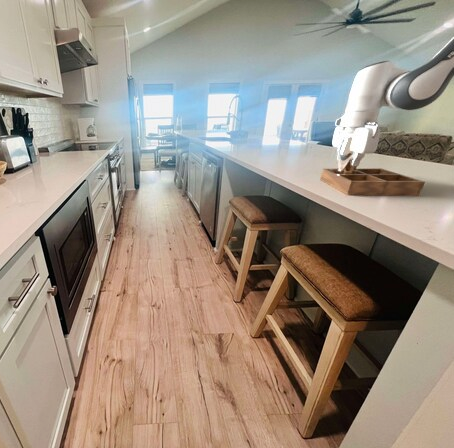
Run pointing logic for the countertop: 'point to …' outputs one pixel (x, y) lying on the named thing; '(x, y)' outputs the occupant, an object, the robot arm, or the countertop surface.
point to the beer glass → (345, 157)
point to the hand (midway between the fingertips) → (347, 163)
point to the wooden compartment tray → (373, 182)
